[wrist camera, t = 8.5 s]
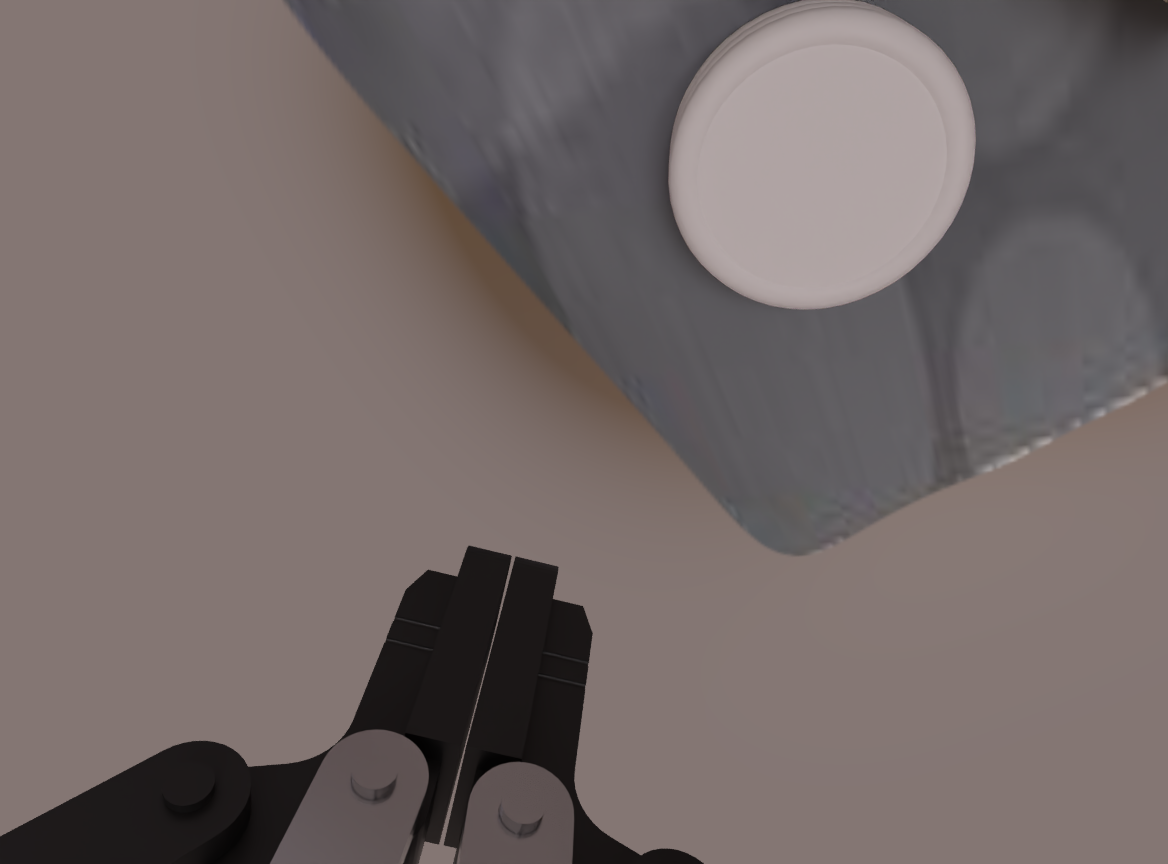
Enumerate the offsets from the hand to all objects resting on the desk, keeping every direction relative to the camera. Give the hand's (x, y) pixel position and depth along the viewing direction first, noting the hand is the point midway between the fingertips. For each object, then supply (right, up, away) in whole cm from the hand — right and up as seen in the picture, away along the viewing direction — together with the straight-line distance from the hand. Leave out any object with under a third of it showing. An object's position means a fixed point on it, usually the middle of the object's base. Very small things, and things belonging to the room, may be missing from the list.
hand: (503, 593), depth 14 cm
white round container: (+9, +13, +17) cm, 24 cm away
